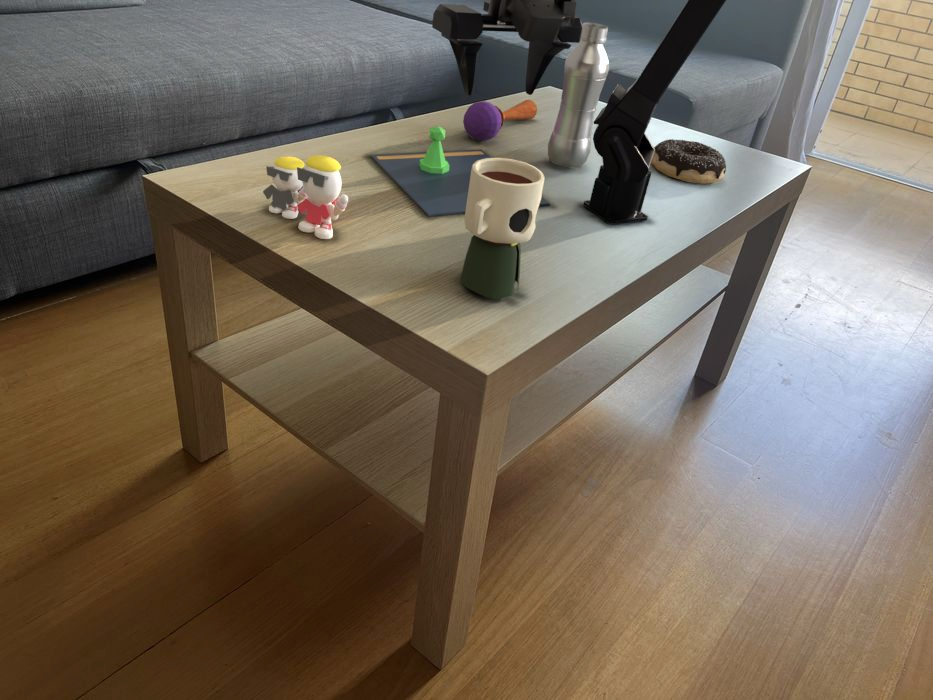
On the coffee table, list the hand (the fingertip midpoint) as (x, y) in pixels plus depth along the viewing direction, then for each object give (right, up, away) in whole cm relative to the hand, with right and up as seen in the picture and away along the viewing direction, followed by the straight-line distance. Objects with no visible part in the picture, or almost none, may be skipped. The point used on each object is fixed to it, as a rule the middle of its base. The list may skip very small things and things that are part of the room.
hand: (498, 94), depth 94 cm
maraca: (+1, +3, +26) cm, 26 cm away
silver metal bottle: (+11, -5, +17) cm, 21 cm away
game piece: (-9, -8, +8) cm, 14 cm away
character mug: (-2, -27, -18) cm, 32 cm away
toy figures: (-23, -19, -11) cm, 31 cm away
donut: (+31, -5, +21) cm, 38 cm away
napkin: (-6, -10, +6) cm, 13 cm away
